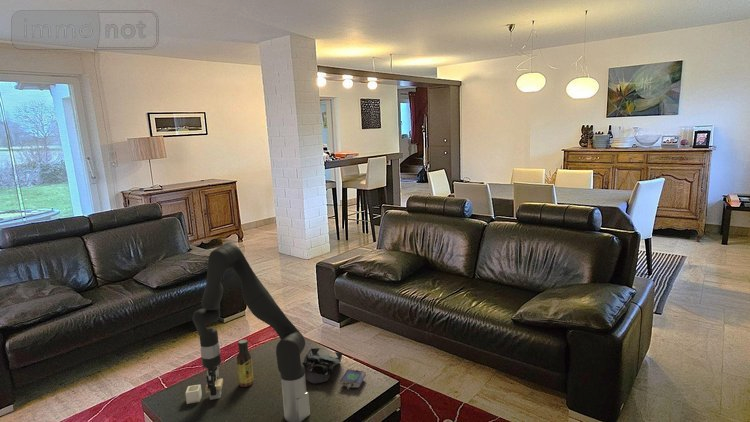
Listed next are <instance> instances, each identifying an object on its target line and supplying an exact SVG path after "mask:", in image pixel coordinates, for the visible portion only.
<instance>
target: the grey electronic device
mask: <svg viewBox="0 0 750 422" xmlns="http://www.w3.org/2000/svg"><path fill="white" fill-rule="evenodd" d="M366 376H367V372H366V371H364V370H358V369H356V370H354V369H349V368H348V369H347V370H346V371H345V372H344V374H343V375H342V377H341V378H340V380H339V384H340V385H342V386H344V387H346V389H347V390H350V388H360V387H361V385H362V383H363V382H364V379H365V377H366Z"/></svg>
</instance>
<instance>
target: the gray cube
mask: <svg viewBox="0 0 750 422" xmlns="http://www.w3.org/2000/svg"><path fill="white" fill-rule="evenodd" d="M208 396H209V400H210V401H211V400H216V399H217V400H218V399H220V398H221V396H222V389H221V390H220V391H216V395H214V396H211V393H210V392H208Z"/></svg>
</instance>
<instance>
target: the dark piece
mask: <svg viewBox="0 0 750 422" xmlns="http://www.w3.org/2000/svg"><path fill="white" fill-rule="evenodd" d="M320 349H321V347H316V348H310V349H309V351H308V352H307V354H305V356H304V358H303V360H302V361H301V363H302V364H303V365H304V367H305V378H306V382H309V383H311V384H320V383H323V382H327V381H328V380H329V379H330V377H331V374H332V372H333V371H335V366H337V365H339V364H340V363H341V362H342V357H343V352H338V351H335V352H334V353H335V355H336V357H334V356H331V355H329V354H322V353H318V352H319V351H320Z"/></svg>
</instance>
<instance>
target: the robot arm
mask: <svg viewBox="0 0 750 422" xmlns="http://www.w3.org/2000/svg"><path fill="white" fill-rule="evenodd" d="M207 259H208V260H207V270H206V271H207V273H206V282H205V283H206V284H205V288H204V292H203V295H202V298H201V303H200V304H201V307H202V308H200V309H197V310H195V311H194V312H193V315H192V323H193V324H194V326H195V329H196V331H197V334H198V335H199V342H200V343H199V345H200V357H201V358H200V359H201V364H202V365H201V366H202V368H204V369H207V370H206V377H205V378H206V385H207V384H208V389H210V393H211V396H214V395H216V380H217V379H219V377H220V376H219V374H220V368H219V365H220V364H221V363H222V356H221V347H220V343H219V333H218V330H217V328H214V327H207V326H208V325H211V324H213V323H215V322H216V323H217V321H218V320H219V319H220V317H221V301H222V298H223V294H224V286H223V284H222V278H223V277H224V275H225V273H226V272H227V271H229V270H230V269H233V271H234V272H235V274H236V275H237V277H238V278H239V281H240V288H241V296H242V299H243V302H244V304H245V305H246V306H247V308H248V309H249V311H250V312H251V314H252V315H253V316H254V317H255V318H257V319H258V320H260V321H262V323H265V324H266V325H269V326H270V327H271V328H272V329H273V330H274V331H275V333H276V334H277V335H278V337H279V338H280V339H279V341H278V342H277V345H276V348H275V349H276V350H275V354H276V362H277V369H278V372H279V373H280V381H281V393H282V404H283V407H282V408H283V415H284V416H283V417H284V419H285V421H287V422H303V421H304V420H305V419H307V418H308V417H309V416H310V415H311V408H310V395H309V391H307V379H306V378H305V367H304V365H303V364H302V361H301V354H302V352H303V351H304V349H305V347H306V339H305V337H304V335H303V334H302V332H301V331H299V329H298V328H297V327H296V326H295V324H293V322H292V321H290V319H289V318H288V317H287V316H286V314H285V313H284V311H283V310H282V309H281V308H280V306H279V305H278V303H277V302H276V301H275V299H274V298H273V296H272V295H271V293H270V292H269V291H268V290H267V288H266V287H265V286H264V284H263V283H262V282H261V281H260V278H259V277H258V276H257V275H256V273H255V272H254V269H252V267H251V266H250V263H249V262H248V260H247V258H246V257H245V255H244V253H243V252H242V250H241V248H239V247H238V245H237V244H235V243H233V242H226V243H224V244H222V245H220V246H218V247H217V248H215V249H213V250H212V251H210V253H209V256H208V258H207Z"/></svg>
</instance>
